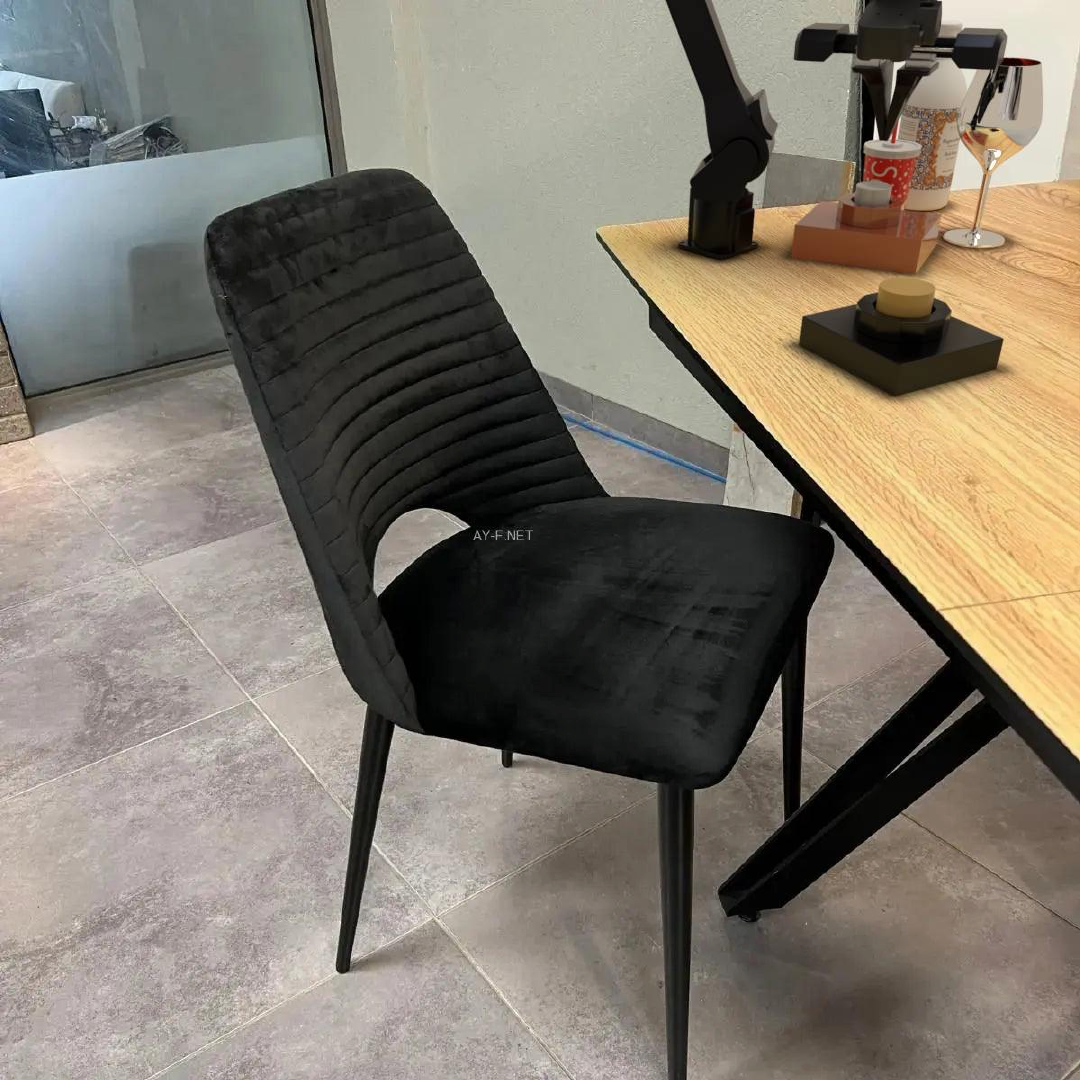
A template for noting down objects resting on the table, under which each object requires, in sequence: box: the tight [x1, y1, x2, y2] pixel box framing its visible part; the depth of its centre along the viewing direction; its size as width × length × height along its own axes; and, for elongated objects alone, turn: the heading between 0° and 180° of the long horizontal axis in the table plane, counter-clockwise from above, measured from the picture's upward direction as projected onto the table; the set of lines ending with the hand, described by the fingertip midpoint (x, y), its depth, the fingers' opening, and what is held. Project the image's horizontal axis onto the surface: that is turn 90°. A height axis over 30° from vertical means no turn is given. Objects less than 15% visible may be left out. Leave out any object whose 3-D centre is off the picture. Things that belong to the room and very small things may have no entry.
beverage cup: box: [862, 120, 921, 210], centre depth 114 cm, size 6×6×14 cm
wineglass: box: [942, 56, 1044, 249], centre depth 108 cm, size 8×8×18 cm
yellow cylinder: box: [876, 276, 937, 318], centre depth 85 cm, size 4×4×2 cm
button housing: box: [790, 192, 942, 275], centre depth 109 cm, size 13×10×6 cm
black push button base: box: [798, 291, 1005, 397], centre depth 86 cm, size 12×11×4 cm
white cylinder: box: [854, 181, 892, 206], centre depth 107 cm, size 4×4×2 cm
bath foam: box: [897, 20, 968, 212], centre depth 120 cm, size 7×7×20 cm
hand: (884, 140), depth 103 cm, fingers closed
